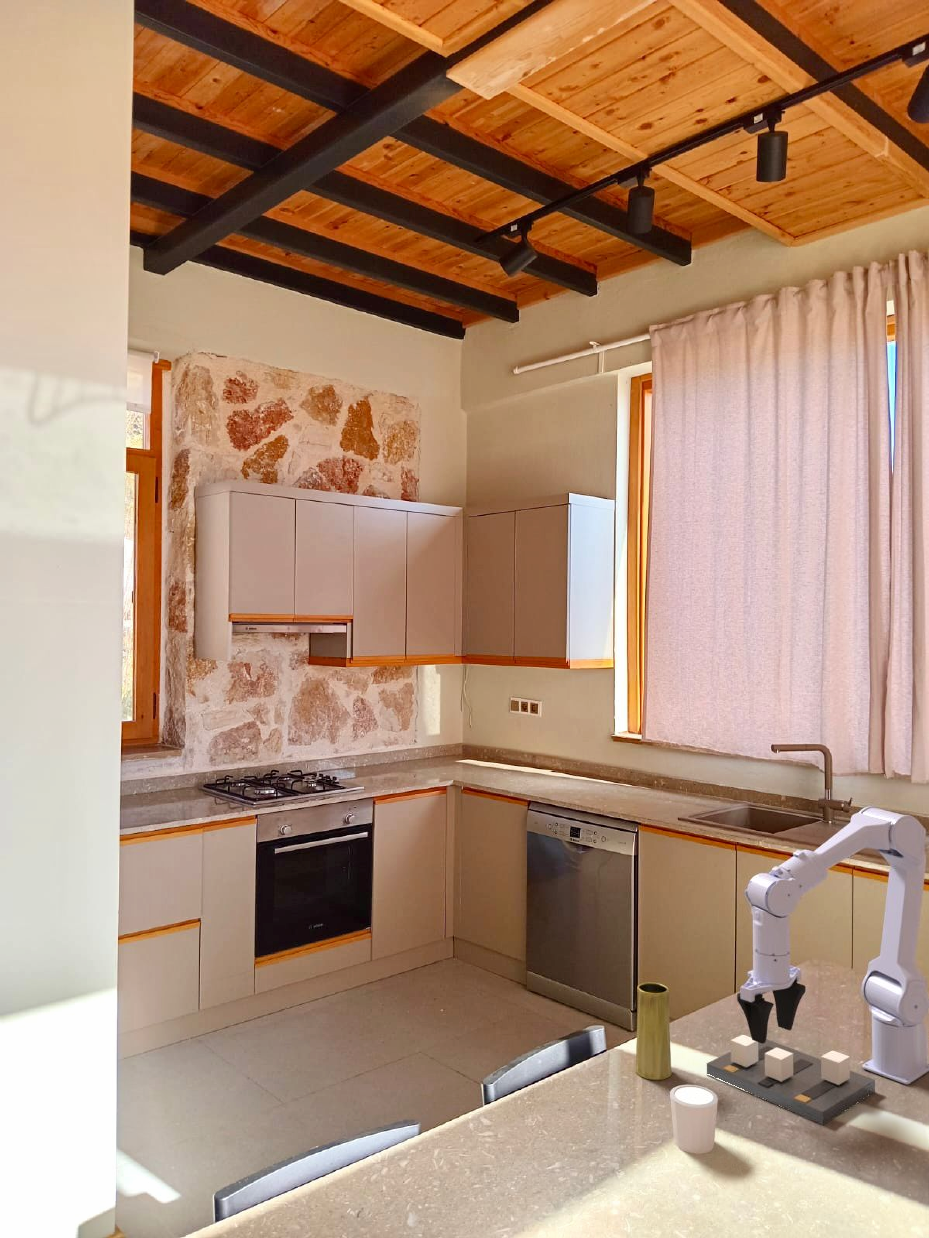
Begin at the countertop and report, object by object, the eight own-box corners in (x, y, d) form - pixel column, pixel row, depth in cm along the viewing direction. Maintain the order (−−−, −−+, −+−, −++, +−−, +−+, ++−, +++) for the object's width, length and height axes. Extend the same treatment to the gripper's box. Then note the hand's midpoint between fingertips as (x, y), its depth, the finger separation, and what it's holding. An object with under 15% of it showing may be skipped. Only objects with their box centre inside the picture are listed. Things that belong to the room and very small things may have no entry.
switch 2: (776, 1068, 156) (776, 1047, 156) (793, 1074, 154) (793, 1053, 154) (764, 1074, 154) (764, 1053, 154) (781, 1081, 152) (781, 1059, 152)
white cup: (719, 1135, 140) (719, 1087, 140) (716, 1159, 134) (716, 1109, 134) (672, 1127, 142) (672, 1080, 142) (667, 1150, 136) (666, 1102, 136)
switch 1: (742, 1054, 161) (742, 1034, 162) (758, 1060, 159) (758, 1040, 159) (730, 1060, 159) (730, 1039, 159) (746, 1067, 157) (746, 1045, 157)
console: (760, 1048, 169) (760, 1035, 169) (874, 1091, 153) (874, 1078, 153) (706, 1075, 159) (706, 1061, 159) (822, 1125, 143) (822, 1110, 143)
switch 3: (832, 1071, 155) (832, 1050, 155) (849, 1078, 153) (849, 1056, 153) (821, 1077, 153) (821, 1056, 153) (838, 1084, 151) (838, 1062, 151)
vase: (672, 1082, 157) (671, 995, 157) (634, 1078, 158) (634, 993, 158) (671, 1065, 163) (671, 982, 163) (635, 1062, 164) (635, 979, 164)
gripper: (774, 934, 161) (774, 1014, 161) (723, 953, 152) (724, 1038, 151) (812, 945, 155) (813, 1028, 155) (762, 965, 146) (763, 1053, 146)
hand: (771, 1034), depth 153 cm, fingers open, 7 cm apart
